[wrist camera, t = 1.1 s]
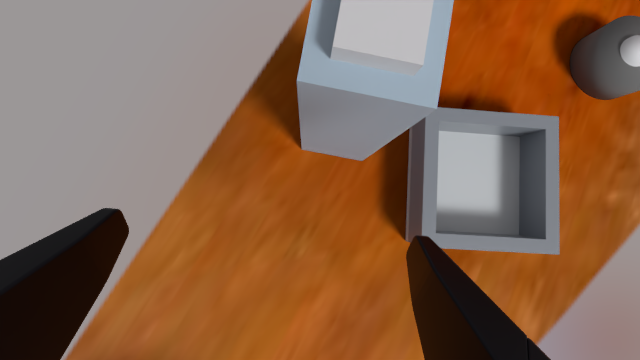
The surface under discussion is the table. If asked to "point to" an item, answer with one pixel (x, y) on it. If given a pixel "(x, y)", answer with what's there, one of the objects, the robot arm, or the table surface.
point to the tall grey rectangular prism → (369, 72)
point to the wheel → (609, 60)
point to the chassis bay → (484, 181)
